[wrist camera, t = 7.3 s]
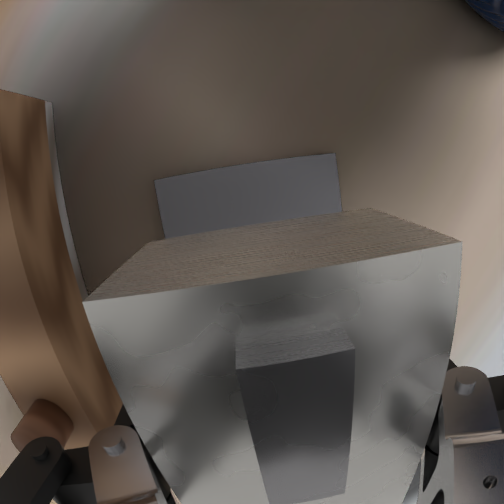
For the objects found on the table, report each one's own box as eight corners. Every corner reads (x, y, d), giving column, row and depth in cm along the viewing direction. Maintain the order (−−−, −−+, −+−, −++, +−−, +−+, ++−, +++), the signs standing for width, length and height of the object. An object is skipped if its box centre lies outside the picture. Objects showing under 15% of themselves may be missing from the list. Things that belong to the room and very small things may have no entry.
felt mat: (157, 179, 15) (154, 180, 15) (332, 153, 15) (335, 153, 15) (203, 377, 18) (202, 382, 18) (345, 354, 19) (348, 359, 18)
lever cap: (149, 241, 8) (64, 318, 4) (370, 207, 8) (485, 251, 4) (216, 462, 10) (212, 559, 6) (365, 437, 10) (402, 525, 6)
